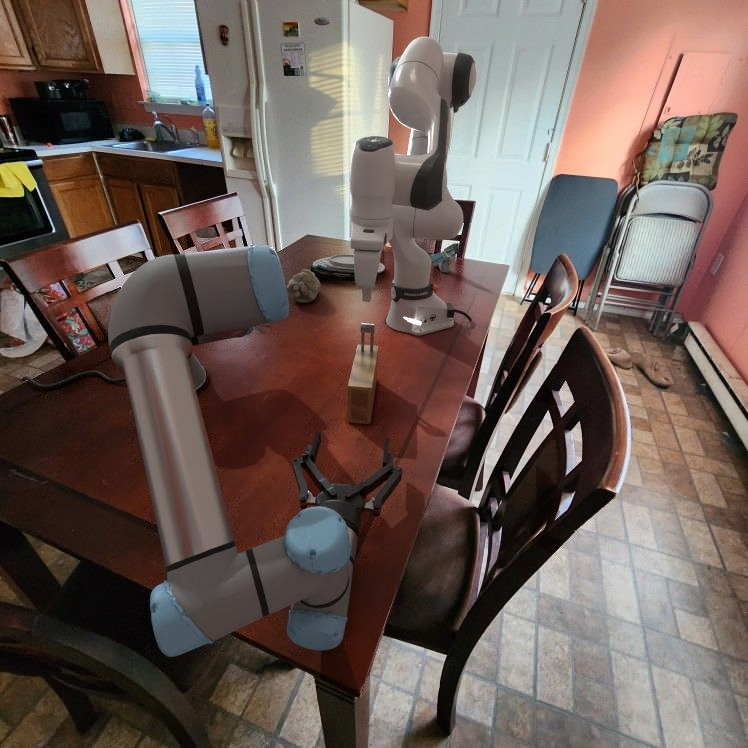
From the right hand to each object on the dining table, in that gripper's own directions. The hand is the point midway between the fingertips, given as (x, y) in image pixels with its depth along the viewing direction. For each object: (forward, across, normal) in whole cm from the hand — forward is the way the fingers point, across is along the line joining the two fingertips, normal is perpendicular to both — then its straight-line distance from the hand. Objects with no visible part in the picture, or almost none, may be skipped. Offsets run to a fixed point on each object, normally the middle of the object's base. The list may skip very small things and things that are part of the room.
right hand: (369, 291), depth 92 cm
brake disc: (+26, -78, -16) cm, 84 cm away
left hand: (+20, +27, 0) cm, 33 cm away
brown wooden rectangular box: (+26, +6, 0) cm, 27 cm away
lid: (+16, +6, 0) cm, 17 cm away
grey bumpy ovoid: (+26, -50, -28) cm, 62 cm away
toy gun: (+26, -87, +24) cm, 94 cm away
